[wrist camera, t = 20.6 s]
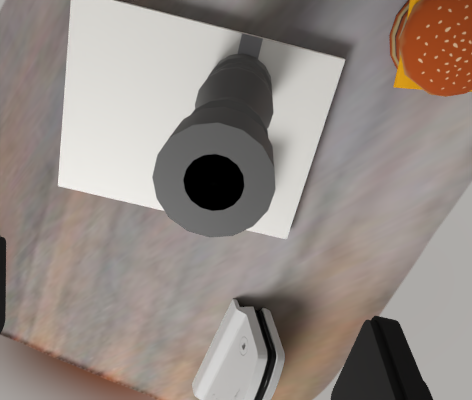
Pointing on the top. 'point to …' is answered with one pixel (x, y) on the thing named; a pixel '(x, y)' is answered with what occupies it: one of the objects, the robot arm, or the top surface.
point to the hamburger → (433, 46)
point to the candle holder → (221, 153)
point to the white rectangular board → (176, 100)
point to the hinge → (241, 358)
